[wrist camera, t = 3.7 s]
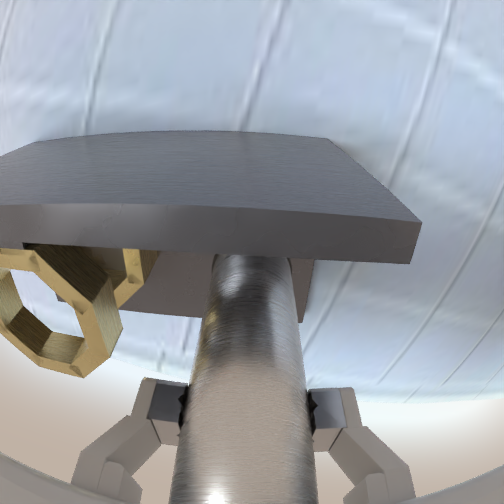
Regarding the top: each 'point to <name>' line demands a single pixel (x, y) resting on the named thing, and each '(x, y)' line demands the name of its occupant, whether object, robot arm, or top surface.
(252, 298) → the grey metal rod
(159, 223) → the collar stand
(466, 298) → the top surface
